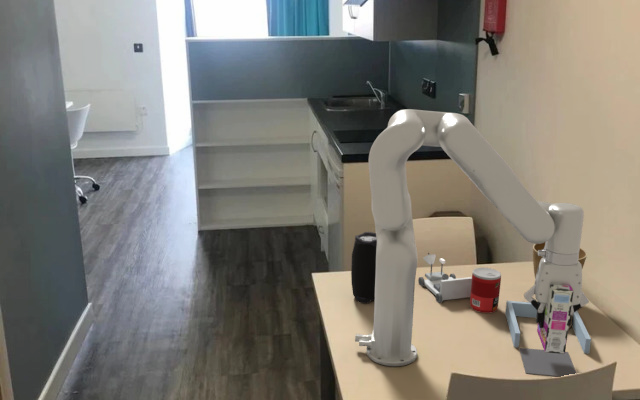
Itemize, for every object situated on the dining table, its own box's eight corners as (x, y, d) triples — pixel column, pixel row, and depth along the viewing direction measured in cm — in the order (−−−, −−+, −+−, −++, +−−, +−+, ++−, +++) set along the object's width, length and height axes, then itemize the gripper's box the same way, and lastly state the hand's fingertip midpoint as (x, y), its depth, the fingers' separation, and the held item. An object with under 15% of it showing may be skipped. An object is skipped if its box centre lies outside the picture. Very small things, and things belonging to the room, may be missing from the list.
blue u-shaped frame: (513, 347, 167) (515, 332, 166) (505, 313, 185) (506, 300, 184) (589, 353, 164) (591, 339, 163) (572, 318, 183) (574, 305, 181)
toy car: (416, 252, 204) (449, 249, 208) (414, 281, 207) (447, 277, 210) (441, 274, 188) (477, 270, 191) (439, 305, 191) (475, 301, 194)
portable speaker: (386, 302, 191) (389, 240, 185) (355, 306, 189) (357, 242, 183) (376, 290, 199) (378, 230, 193) (347, 293, 197) (348, 232, 191)
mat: (525, 373, 155) (525, 372, 155) (519, 348, 166) (519, 347, 166) (578, 378, 153) (578, 377, 153) (568, 352, 165) (568, 351, 165)
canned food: (498, 314, 184) (502, 279, 181) (469, 312, 186) (472, 276, 183) (497, 303, 192) (500, 268, 188) (469, 300, 193) (472, 266, 190)
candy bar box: (566, 354, 153) (574, 290, 148) (544, 353, 153) (551, 289, 149) (556, 332, 163) (564, 271, 159) (536, 330, 164) (542, 270, 159)
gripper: (525, 259, 150) (518, 331, 155) (603, 264, 147) (593, 337, 152) (521, 248, 157) (514, 316, 162) (595, 252, 154) (586, 322, 159)
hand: (552, 325), depth 157 cm, fingers closed on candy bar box, 5 cm apart
